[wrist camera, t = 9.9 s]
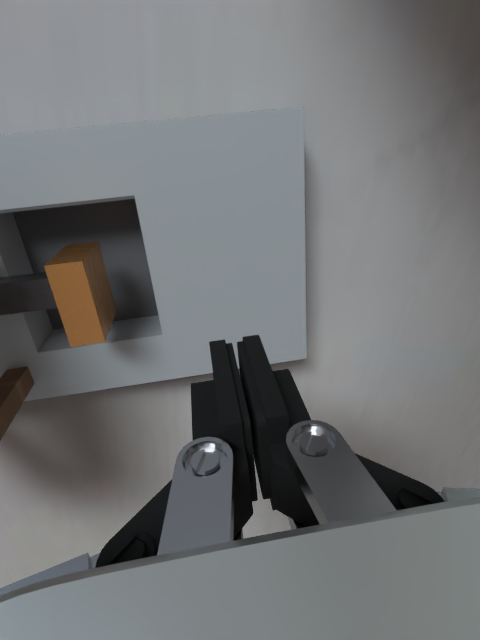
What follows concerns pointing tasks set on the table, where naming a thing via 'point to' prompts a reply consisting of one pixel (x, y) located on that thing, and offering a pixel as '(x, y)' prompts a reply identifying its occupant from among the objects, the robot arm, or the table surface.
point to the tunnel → (13, 394)
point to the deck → (159, 243)
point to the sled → (67, 293)
